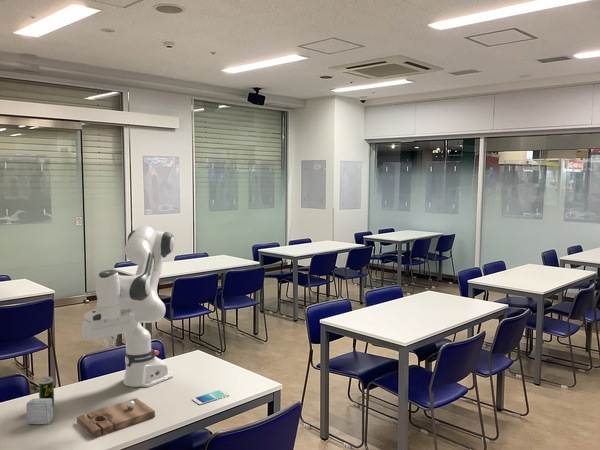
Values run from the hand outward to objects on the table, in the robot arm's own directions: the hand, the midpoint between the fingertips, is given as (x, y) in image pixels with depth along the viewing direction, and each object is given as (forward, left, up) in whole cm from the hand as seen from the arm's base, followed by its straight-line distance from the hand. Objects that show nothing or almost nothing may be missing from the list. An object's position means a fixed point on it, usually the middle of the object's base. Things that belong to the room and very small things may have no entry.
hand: (110, 346), depth 197 cm
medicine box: (+23, -11, -28) cm, 38 cm away
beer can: (+17, -23, -27) cm, 40 cm away
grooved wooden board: (+1, +7, -27) cm, 28 cm away
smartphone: (-37, +15, -28) cm, 48 cm away
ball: (-5, +7, -25) cm, 26 cm away
